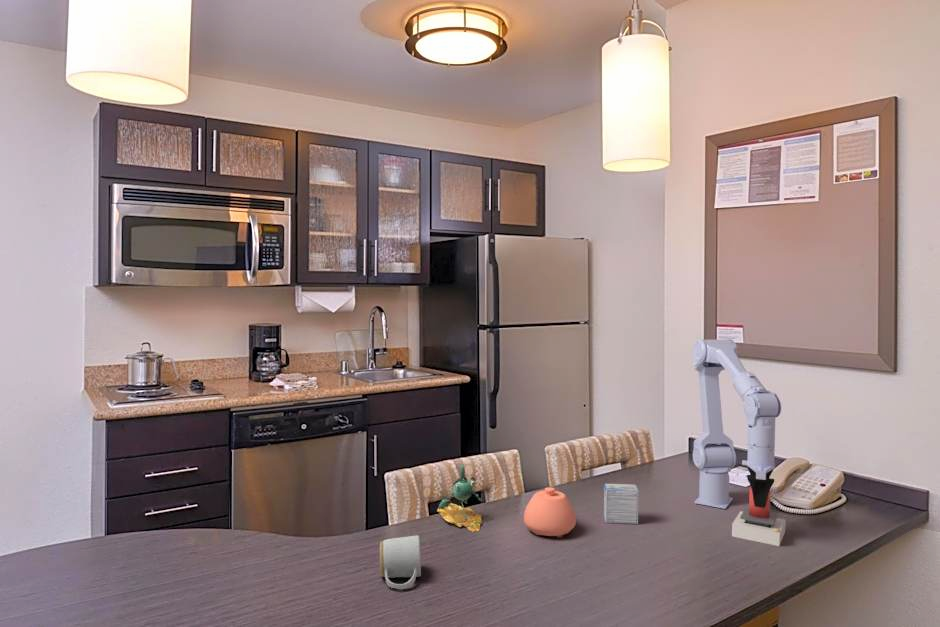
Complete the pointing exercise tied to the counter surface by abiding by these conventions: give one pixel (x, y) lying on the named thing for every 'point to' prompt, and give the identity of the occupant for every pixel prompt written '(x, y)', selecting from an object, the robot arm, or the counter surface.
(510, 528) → the counter surface
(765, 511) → the cap
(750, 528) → the box
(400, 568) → the ceramic mug
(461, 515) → the frog figurine
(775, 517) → the switch
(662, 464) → the counter surface
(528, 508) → the sugar bowl
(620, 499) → the medicine box
